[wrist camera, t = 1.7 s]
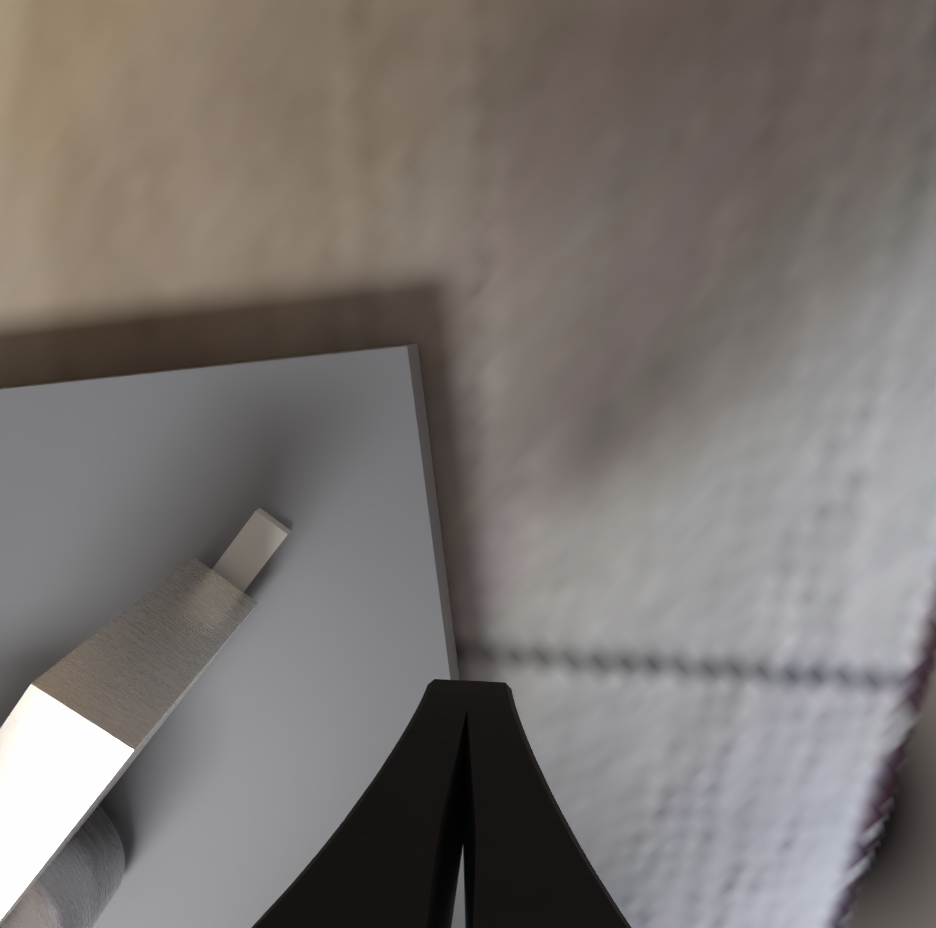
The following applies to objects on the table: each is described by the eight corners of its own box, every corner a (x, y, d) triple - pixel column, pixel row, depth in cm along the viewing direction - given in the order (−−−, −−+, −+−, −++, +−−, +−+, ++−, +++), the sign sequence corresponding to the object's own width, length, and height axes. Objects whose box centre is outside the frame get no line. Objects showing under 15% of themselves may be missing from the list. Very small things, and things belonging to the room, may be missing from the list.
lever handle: (66, 950, 14) (-98, 1191, 10) (-105, 850, 14) (-351, 1067, 10) (325, 646, 12) (237, 817, 8) (125, 505, 11) (-85, 608, 7)
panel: (506, 1048, 17) (507, 1125, 15) (-127, 1055, 19) (-187, 1126, 17) (417, 343, 12) (405, 346, 10) (-465, 437, 13) (-601, 453, 12)
